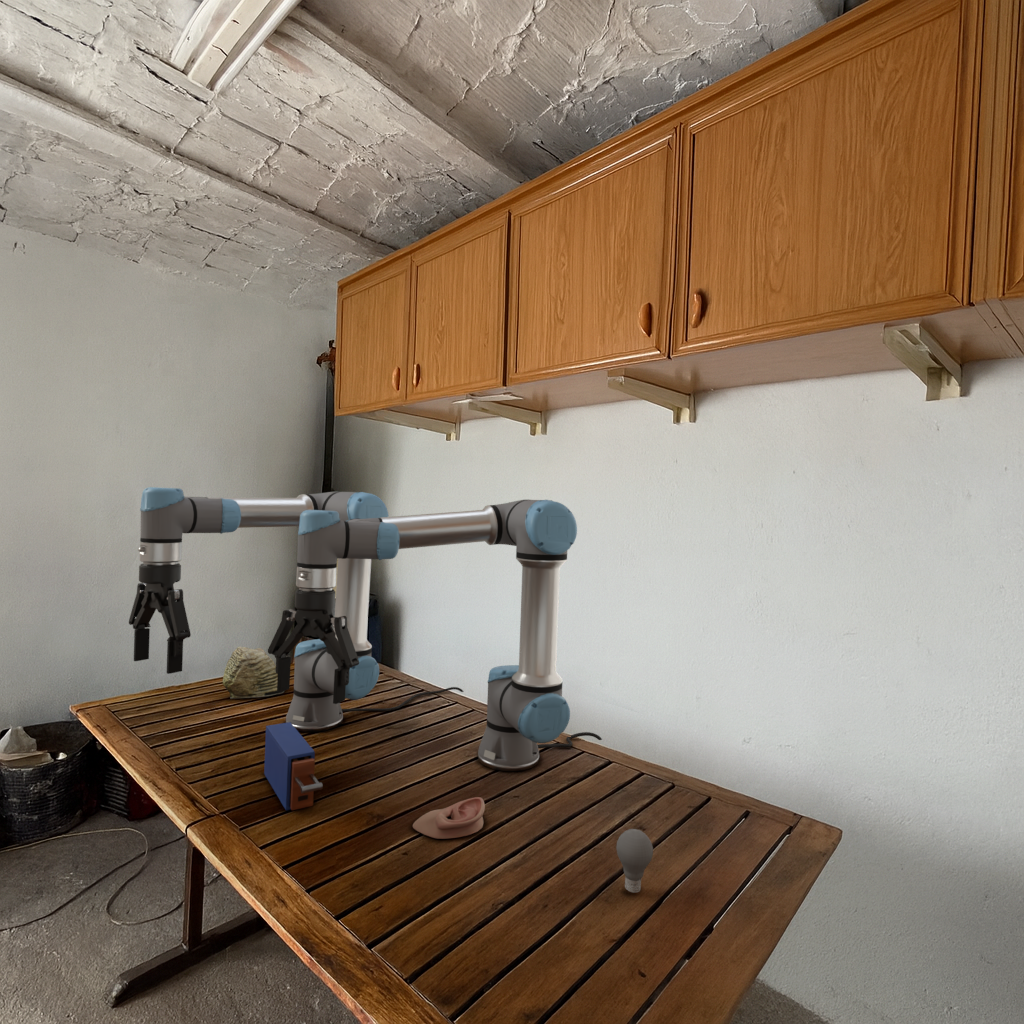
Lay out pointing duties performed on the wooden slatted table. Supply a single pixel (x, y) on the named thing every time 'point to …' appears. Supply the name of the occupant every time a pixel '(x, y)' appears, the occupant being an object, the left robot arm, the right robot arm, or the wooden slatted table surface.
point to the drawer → (303, 782)
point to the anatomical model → (453, 820)
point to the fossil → (250, 674)
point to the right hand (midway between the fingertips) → (310, 696)
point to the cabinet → (283, 757)
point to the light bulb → (634, 857)
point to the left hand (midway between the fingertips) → (157, 666)
